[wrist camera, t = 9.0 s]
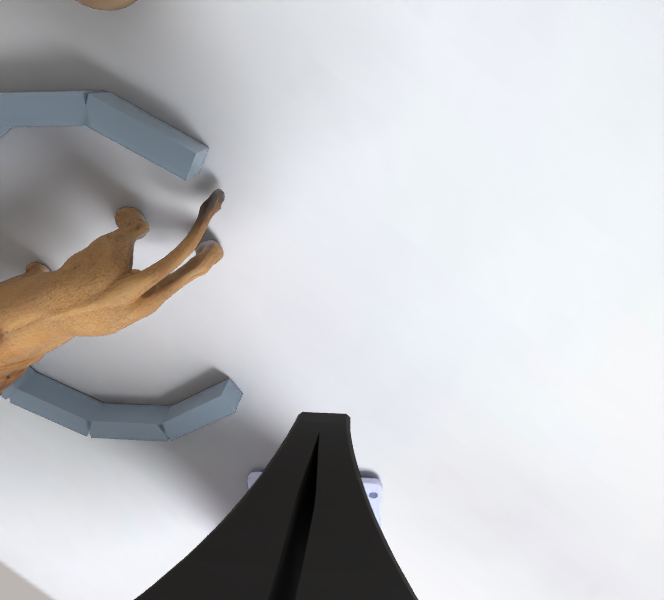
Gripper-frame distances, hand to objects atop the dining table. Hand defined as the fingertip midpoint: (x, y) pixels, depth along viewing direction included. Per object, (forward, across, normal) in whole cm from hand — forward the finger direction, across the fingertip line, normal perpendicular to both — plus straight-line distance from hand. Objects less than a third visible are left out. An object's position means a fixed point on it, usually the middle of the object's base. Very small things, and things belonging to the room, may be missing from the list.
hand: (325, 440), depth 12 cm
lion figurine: (+10, +12, 0) cm, 15 cm away
